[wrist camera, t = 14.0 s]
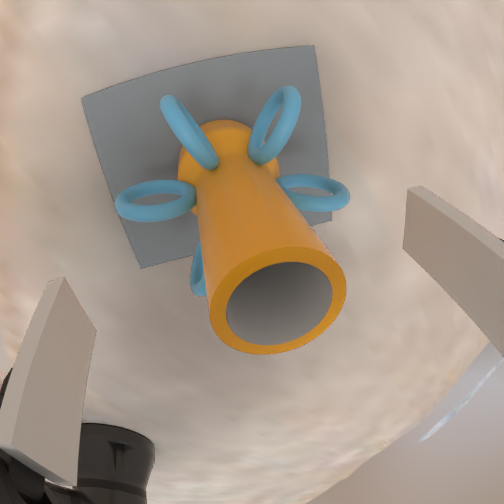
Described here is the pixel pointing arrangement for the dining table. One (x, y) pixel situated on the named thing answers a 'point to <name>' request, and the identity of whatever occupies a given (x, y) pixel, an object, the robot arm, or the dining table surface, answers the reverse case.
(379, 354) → the dining table surface
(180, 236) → the card
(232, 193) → the orange hollow ringed part
